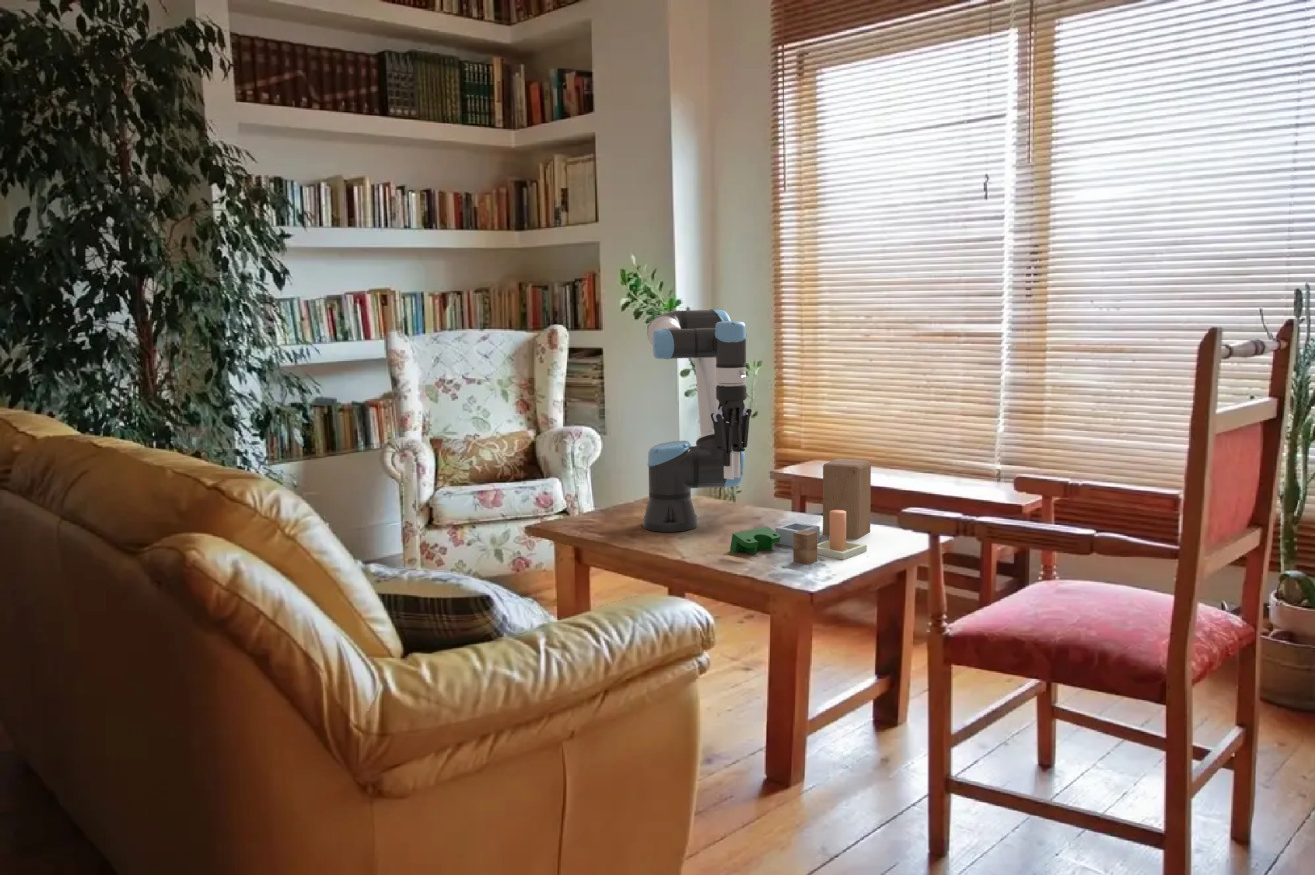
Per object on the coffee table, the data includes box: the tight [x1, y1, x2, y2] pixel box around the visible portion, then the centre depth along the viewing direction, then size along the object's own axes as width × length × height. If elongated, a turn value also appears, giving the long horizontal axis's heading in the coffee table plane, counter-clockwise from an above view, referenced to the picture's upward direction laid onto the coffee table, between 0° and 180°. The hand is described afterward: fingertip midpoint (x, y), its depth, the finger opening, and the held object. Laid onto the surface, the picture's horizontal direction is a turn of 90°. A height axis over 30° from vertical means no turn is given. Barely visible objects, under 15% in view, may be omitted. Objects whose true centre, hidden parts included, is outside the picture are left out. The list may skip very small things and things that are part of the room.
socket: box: [774, 521, 821, 547], centre depth 262 cm, size 8×8×5 cm
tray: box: [817, 539, 868, 560], centre depth 253 cm, size 10×10×2 cm
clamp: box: [729, 526, 780, 555], centre depth 256 cm, size 12×6×9 cm, turn 117°
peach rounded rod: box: [829, 510, 847, 552], centre depth 252 cm, size 4×4×10 cm
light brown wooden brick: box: [792, 530, 818, 565], centre depth 245 cm, size 4×4×8 cm
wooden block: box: [822, 457, 872, 540], centre depth 270 cm, size 10×10×20 cm
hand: (732, 477), depth 258 cm, fingers open, 2 cm apart
